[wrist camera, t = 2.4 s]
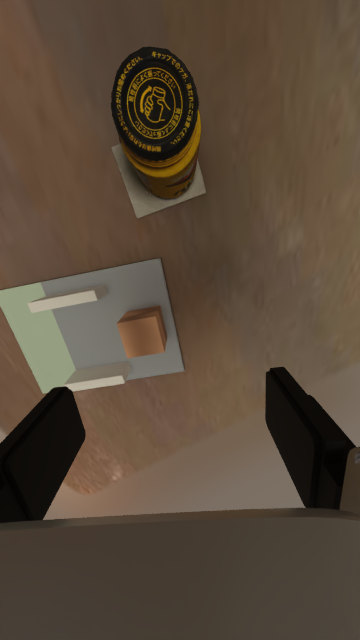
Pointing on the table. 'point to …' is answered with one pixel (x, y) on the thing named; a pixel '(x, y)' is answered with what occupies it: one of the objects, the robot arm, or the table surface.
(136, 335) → the block
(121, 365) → the channel board
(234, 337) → the table surface
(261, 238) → the table surface
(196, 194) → the condiment
